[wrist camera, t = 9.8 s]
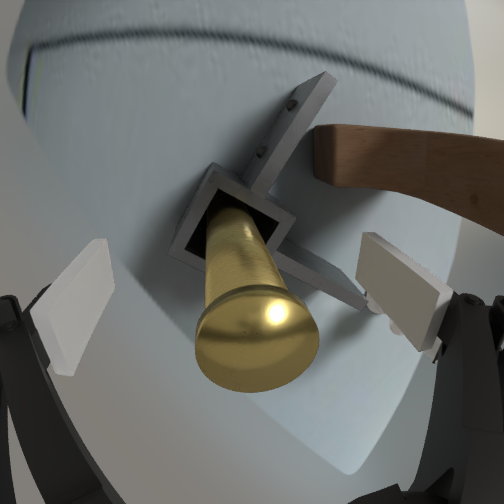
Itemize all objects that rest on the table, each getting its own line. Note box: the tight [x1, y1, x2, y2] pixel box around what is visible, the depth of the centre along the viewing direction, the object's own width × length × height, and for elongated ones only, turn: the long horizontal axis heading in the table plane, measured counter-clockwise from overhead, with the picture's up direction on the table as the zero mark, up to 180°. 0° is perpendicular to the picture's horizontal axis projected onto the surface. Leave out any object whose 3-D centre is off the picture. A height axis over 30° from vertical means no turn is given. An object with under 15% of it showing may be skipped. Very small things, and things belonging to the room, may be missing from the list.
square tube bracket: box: [168, 71, 369, 311], centre depth 22 cm, size 15×15×6 cm
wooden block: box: [313, 124, 504, 236], centre depth 15 cm, size 9×4×18 cm, turn 92°
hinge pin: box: [195, 193, 319, 393], centre depth 16 cm, size 4×4×17 cm
